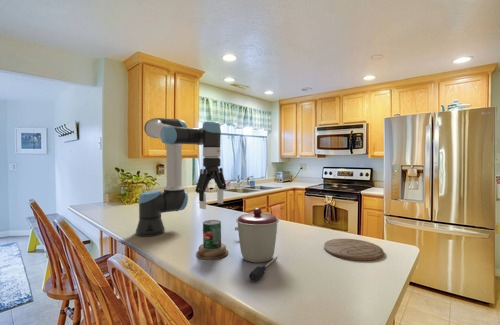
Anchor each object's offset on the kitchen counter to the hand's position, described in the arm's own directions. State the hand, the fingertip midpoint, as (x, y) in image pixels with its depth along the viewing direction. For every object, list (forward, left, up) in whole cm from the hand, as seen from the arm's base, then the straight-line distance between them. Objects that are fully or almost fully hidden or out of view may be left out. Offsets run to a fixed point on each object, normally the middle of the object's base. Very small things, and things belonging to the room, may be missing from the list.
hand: (212, 205), depth 117 cm
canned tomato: (0, 0, -18) cm, 18 cm away
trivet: (+55, +31, -22) cm, 67 cm away
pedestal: (0, 0, -21) cm, 21 cm away
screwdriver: (+28, -5, -22) cm, 35 cm away
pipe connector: (+3, +25, -21) cm, 33 cm away
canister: (+20, +4, -21) cm, 30 cm away
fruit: (+5, +47, -21) cm, 52 cm away
